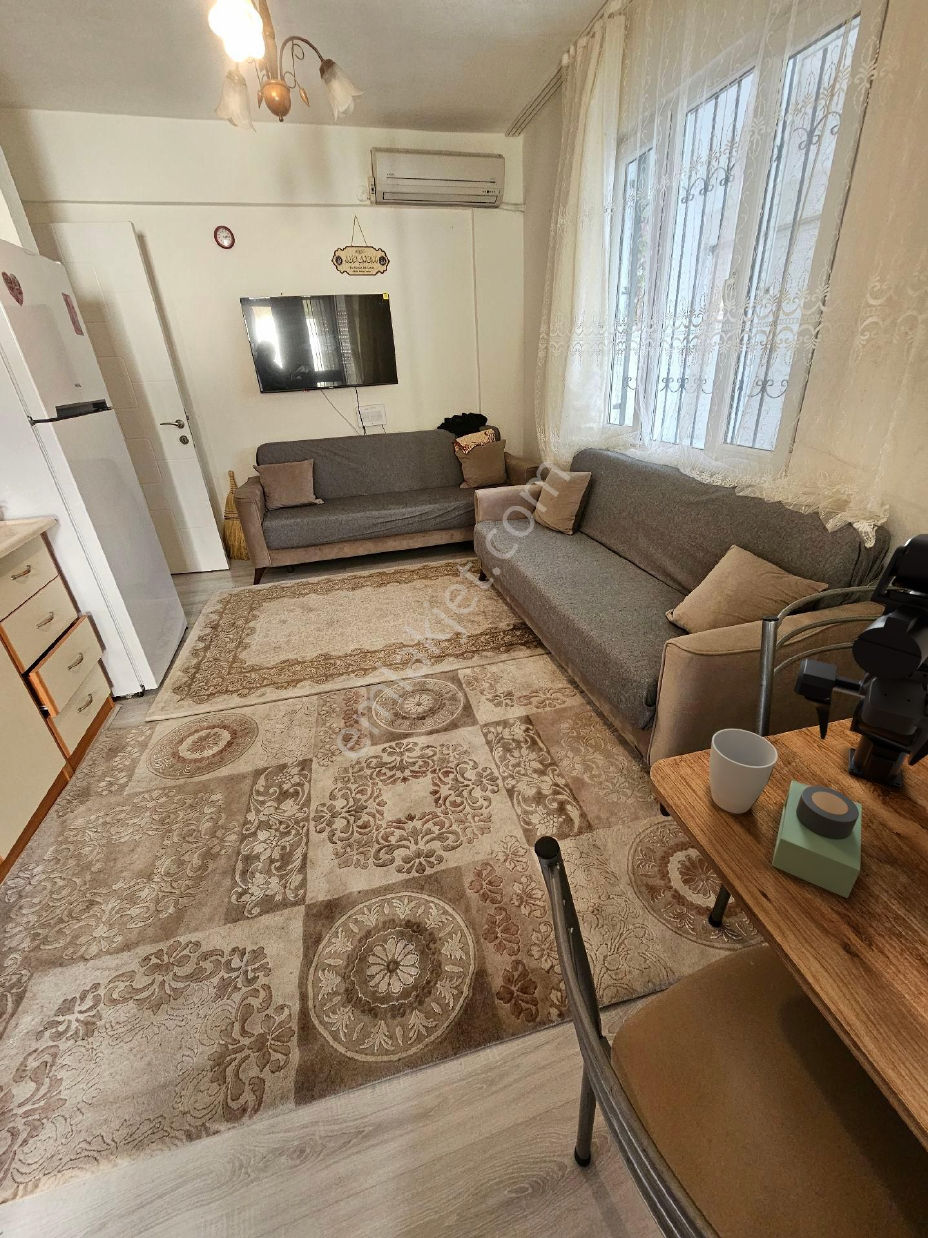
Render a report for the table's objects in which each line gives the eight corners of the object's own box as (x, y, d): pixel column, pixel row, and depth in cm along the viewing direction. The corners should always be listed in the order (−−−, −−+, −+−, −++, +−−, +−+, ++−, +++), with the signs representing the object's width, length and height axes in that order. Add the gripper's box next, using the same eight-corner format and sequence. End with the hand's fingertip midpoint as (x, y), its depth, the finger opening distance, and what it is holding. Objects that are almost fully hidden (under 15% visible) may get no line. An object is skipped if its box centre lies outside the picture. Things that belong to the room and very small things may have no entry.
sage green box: (783, 806, 73) (791, 780, 71) (850, 831, 69) (862, 804, 67) (771, 866, 65) (780, 838, 62) (847, 899, 60) (860, 870, 58)
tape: (798, 796, 68) (804, 778, 67) (852, 815, 65) (859, 797, 64) (793, 825, 64) (799, 808, 63) (850, 848, 61) (858, 829, 59)
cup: (769, 825, 70) (786, 770, 66) (707, 817, 72) (719, 763, 67) (752, 783, 77) (766, 731, 73) (695, 777, 79) (706, 726, 75)
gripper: (805, 654, 58) (774, 758, 65) (1034, 705, 48) (969, 823, 55) (813, 618, 66) (785, 714, 73) (1011, 656, 56) (957, 764, 63)
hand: (864, 750), depth 66 cm, fingers open, 9 cm apart
